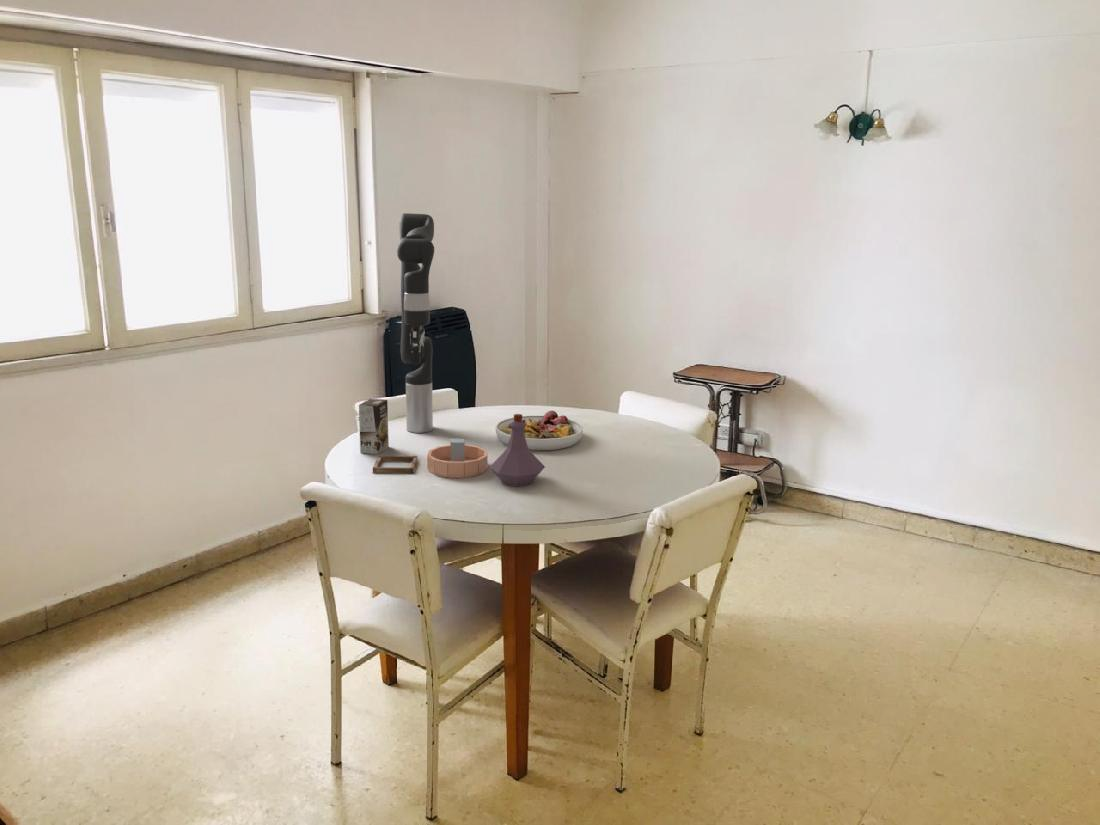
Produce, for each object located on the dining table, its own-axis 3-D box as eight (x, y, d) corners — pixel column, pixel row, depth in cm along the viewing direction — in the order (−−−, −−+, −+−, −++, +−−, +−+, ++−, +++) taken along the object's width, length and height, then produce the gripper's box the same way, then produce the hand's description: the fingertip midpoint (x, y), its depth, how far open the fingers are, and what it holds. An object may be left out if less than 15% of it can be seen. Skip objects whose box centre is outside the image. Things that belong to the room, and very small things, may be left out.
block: (451, 463, 247) (451, 438, 245) (464, 463, 247) (464, 438, 245) (450, 467, 243) (450, 442, 241) (463, 467, 243) (463, 442, 241)
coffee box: (378, 454, 256) (376, 405, 252) (359, 453, 257) (357, 404, 253) (389, 446, 264) (388, 399, 260) (371, 445, 266) (369, 397, 262)
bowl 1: (431, 458, 253) (430, 444, 252) (488, 459, 254) (488, 444, 253) (425, 477, 236) (425, 462, 235) (486, 478, 237) (486, 462, 236)
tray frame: (378, 460, 250) (378, 455, 250) (417, 460, 251) (417, 456, 251) (372, 473, 239) (372, 468, 238) (413, 473, 239) (413, 468, 239)
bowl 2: (567, 458, 258) (567, 434, 256) (481, 447, 267) (481, 424, 265) (592, 434, 286) (593, 412, 284) (514, 425, 295) (514, 404, 293)
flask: (477, 481, 234) (477, 415, 229) (515, 468, 247) (516, 405, 241) (518, 494, 224) (520, 426, 219) (556, 480, 236) (558, 415, 231)
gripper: (427, 311, 229) (428, 367, 233) (431, 305, 243) (432, 357, 247) (400, 311, 229) (402, 366, 233) (406, 304, 242) (408, 357, 247)
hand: (417, 362), depth 240 cm, fingers open, 8 cm apart
